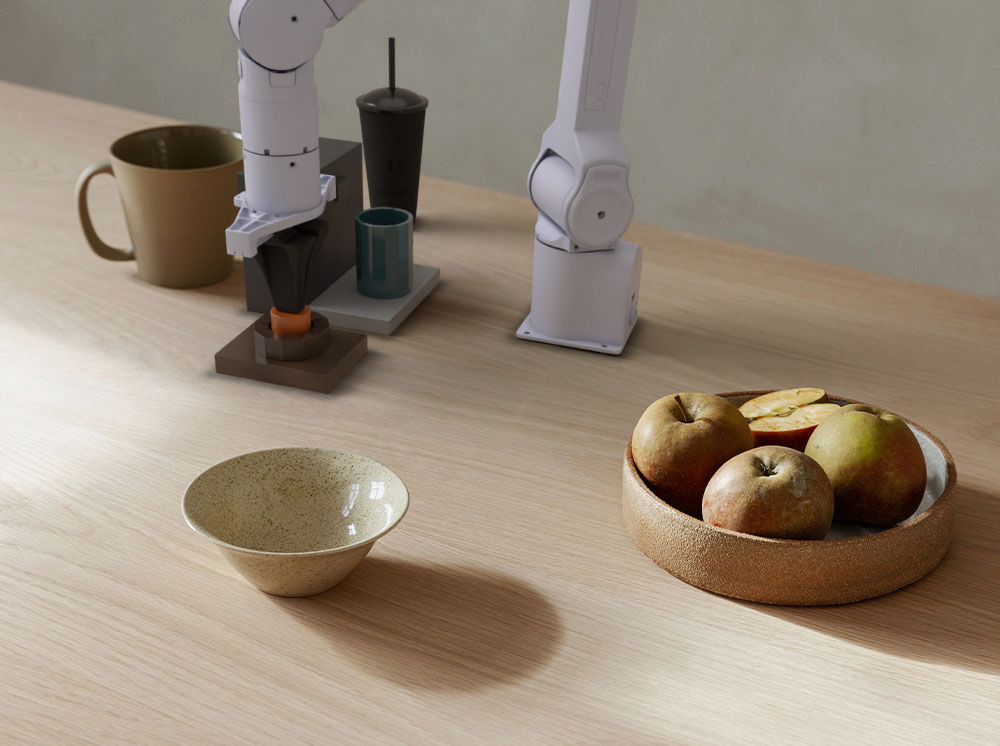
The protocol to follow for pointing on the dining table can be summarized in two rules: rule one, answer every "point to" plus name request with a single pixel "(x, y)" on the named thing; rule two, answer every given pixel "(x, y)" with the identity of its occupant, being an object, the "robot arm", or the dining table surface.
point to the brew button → (291, 321)
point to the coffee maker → (342, 256)
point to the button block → (293, 355)
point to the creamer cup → (384, 252)
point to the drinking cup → (393, 142)
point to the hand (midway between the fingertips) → (290, 308)
